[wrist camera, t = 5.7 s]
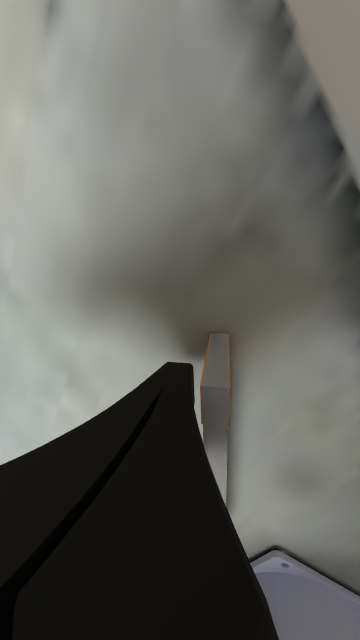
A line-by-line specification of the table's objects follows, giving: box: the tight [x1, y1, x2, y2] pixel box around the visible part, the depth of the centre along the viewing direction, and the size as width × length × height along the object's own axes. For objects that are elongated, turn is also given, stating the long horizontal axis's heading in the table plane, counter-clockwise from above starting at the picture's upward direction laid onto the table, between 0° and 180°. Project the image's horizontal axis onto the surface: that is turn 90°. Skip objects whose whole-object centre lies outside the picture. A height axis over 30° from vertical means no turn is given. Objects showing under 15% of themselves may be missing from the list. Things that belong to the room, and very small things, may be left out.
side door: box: [200, 333, 231, 505], centre depth 11 cm, size 15×1×4 cm, turn 4°
